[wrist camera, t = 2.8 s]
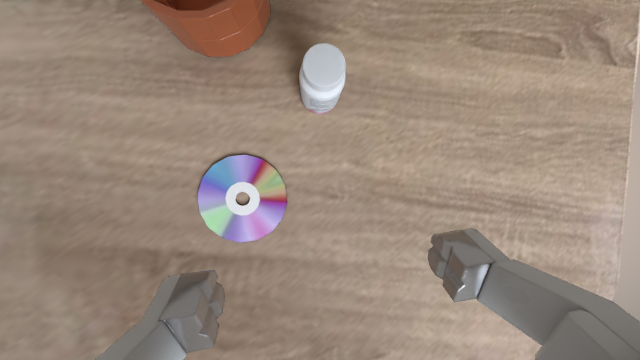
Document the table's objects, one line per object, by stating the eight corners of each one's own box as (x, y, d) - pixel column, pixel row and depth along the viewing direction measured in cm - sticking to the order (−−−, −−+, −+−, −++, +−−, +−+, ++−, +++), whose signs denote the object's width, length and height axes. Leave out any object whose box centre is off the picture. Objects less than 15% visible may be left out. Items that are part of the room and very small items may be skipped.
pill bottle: (345, 96, 29) (360, 66, 21) (319, 122, 29) (324, 102, 21) (319, 69, 29) (324, 27, 21) (293, 95, 29) (287, 63, 21)
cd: (281, 246, 29) (281, 247, 29) (192, 237, 29) (192, 237, 29) (292, 160, 29) (292, 160, 29) (203, 148, 28) (202, 148, 28)
